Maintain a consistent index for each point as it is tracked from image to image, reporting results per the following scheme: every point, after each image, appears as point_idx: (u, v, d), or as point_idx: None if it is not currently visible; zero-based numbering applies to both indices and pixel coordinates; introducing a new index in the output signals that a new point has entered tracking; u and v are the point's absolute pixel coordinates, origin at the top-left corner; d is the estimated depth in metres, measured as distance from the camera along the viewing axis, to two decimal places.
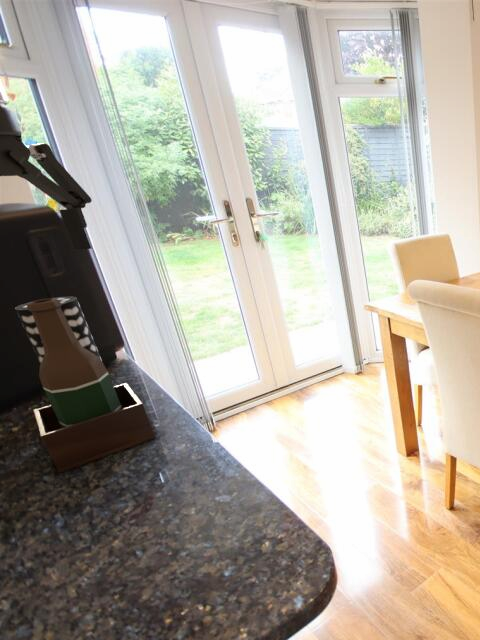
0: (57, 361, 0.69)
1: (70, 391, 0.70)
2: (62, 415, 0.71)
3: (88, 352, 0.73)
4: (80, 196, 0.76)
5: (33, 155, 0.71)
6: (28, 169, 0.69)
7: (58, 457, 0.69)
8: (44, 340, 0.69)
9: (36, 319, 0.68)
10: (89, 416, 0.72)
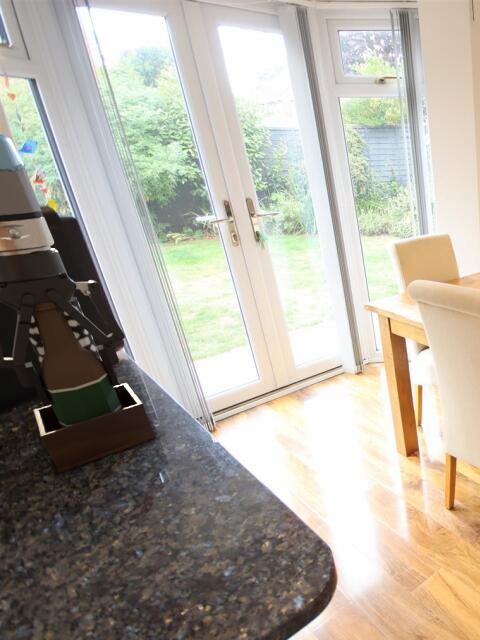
0: (57, 361, 0.69)
1: (70, 391, 0.70)
2: (62, 415, 0.71)
3: (88, 352, 0.73)
4: (113, 333, 0.74)
5: None
6: (62, 308, 0.69)
7: (58, 457, 0.69)
8: (44, 340, 0.69)
9: (36, 319, 0.68)
10: (89, 416, 0.72)
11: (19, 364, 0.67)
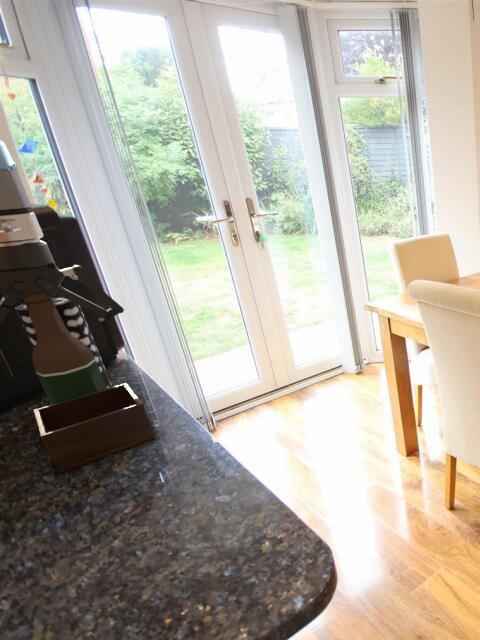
0: (48, 348, 0.76)
1: (60, 375, 0.77)
2: (53, 397, 0.78)
3: (77, 340, 0.80)
4: (112, 308, 0.82)
5: (69, 276, 0.78)
6: (56, 293, 0.76)
7: (58, 457, 0.69)
8: (36, 329, 0.76)
9: (29, 309, 0.75)
10: None
11: None
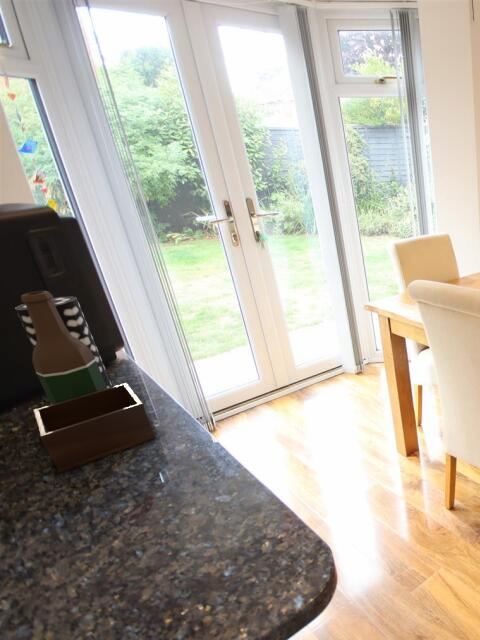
0: (48, 348, 0.76)
1: (60, 375, 0.77)
2: (53, 397, 0.78)
3: (77, 340, 0.80)
4: None
5: None
6: None
7: (58, 457, 0.69)
8: (36, 329, 0.76)
9: (29, 309, 0.75)
10: None
11: None
